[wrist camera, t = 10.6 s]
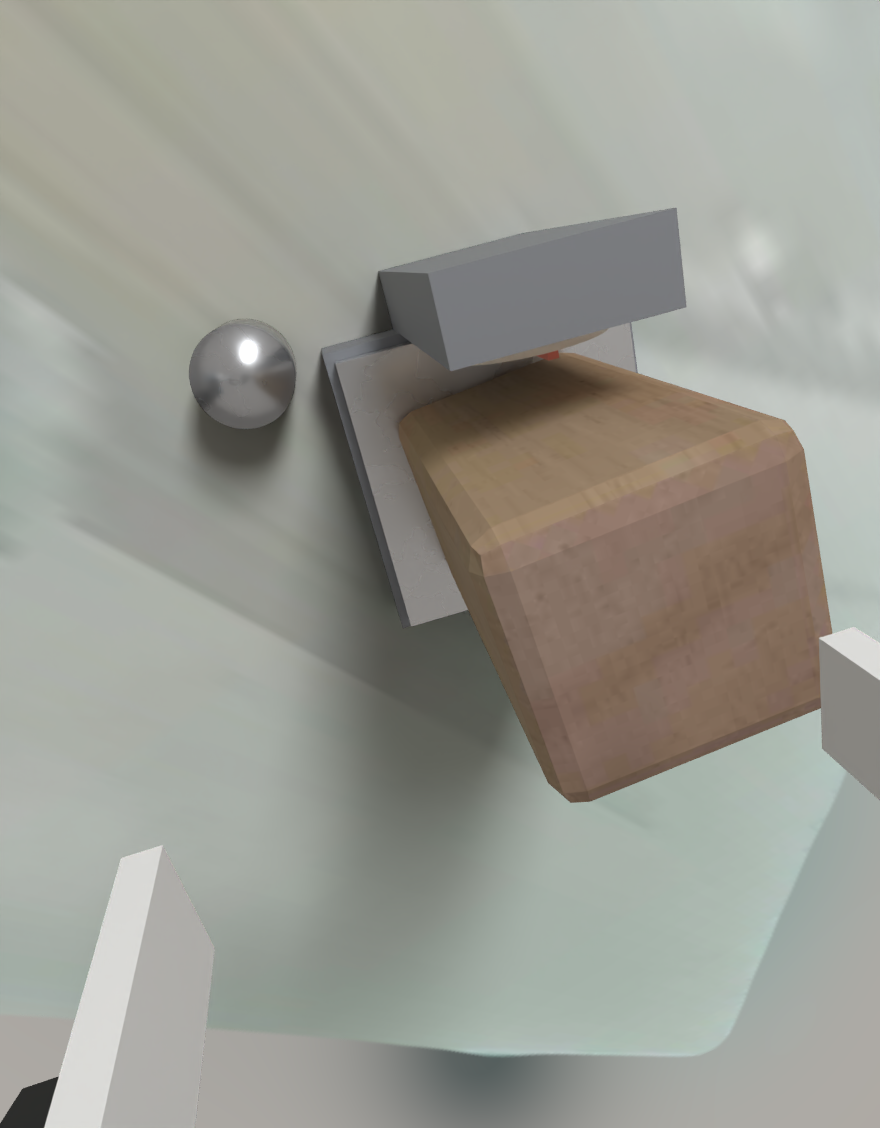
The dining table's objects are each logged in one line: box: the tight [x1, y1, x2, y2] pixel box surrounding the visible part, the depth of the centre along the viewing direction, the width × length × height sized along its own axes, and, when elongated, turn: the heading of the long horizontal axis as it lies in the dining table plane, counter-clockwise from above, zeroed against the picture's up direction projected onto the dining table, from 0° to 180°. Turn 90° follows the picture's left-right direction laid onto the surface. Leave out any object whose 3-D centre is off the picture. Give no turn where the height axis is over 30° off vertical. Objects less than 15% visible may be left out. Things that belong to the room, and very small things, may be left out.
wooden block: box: [399, 353, 832, 803], centre depth 31 cm, size 10×10×20 cm
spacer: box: [189, 319, 296, 429], centre depth 38 cm, size 5×5×4 cm
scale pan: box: [335, 323, 636, 627], centre depth 42 cm, size 15×15×4 cm
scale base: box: [322, 208, 686, 628], centre depth 35 cm, size 16×19×18 cm
